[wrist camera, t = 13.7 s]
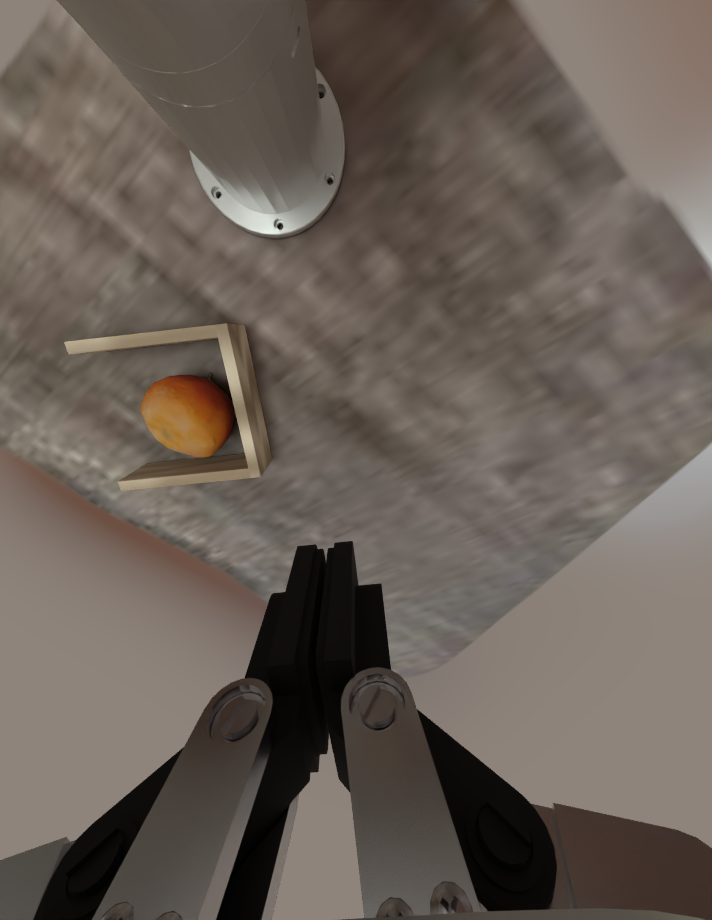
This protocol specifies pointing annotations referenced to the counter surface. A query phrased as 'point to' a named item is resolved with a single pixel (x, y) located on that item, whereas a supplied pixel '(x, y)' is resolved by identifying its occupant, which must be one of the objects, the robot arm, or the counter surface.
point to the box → (242, 396)
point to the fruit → (188, 414)
